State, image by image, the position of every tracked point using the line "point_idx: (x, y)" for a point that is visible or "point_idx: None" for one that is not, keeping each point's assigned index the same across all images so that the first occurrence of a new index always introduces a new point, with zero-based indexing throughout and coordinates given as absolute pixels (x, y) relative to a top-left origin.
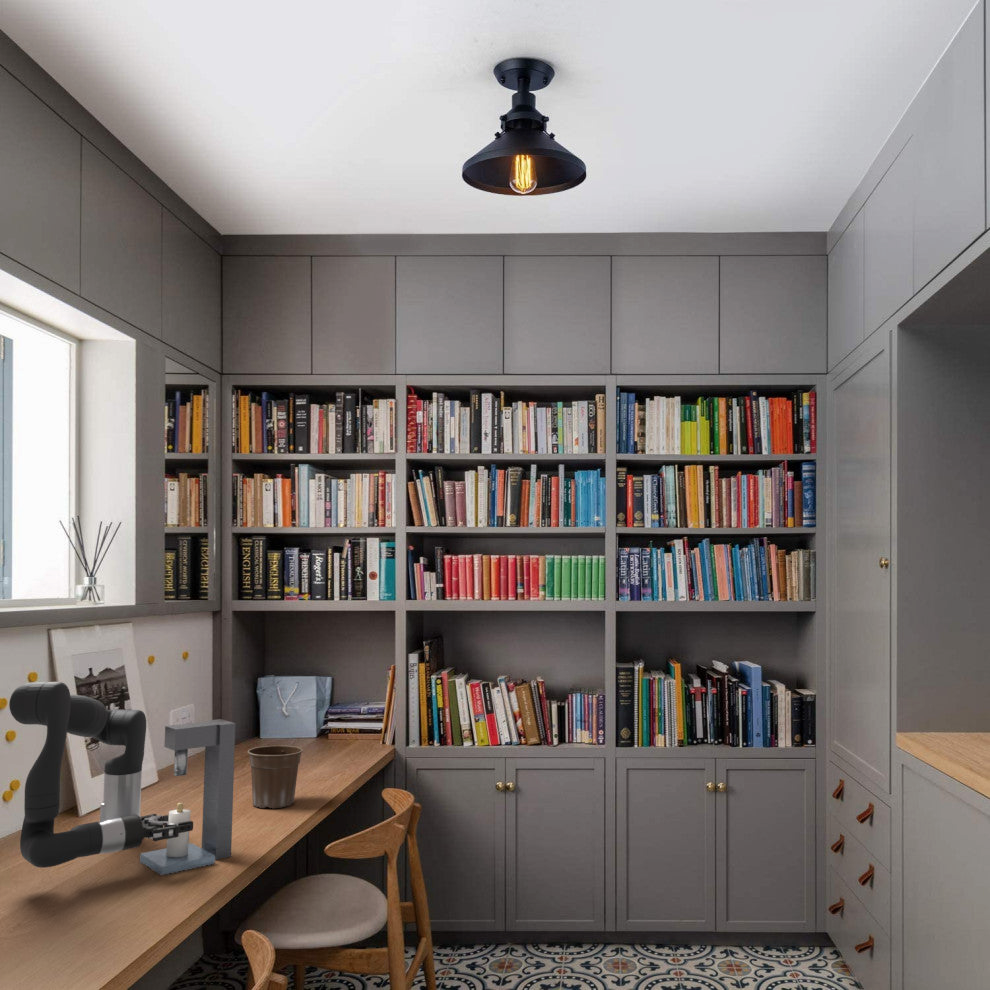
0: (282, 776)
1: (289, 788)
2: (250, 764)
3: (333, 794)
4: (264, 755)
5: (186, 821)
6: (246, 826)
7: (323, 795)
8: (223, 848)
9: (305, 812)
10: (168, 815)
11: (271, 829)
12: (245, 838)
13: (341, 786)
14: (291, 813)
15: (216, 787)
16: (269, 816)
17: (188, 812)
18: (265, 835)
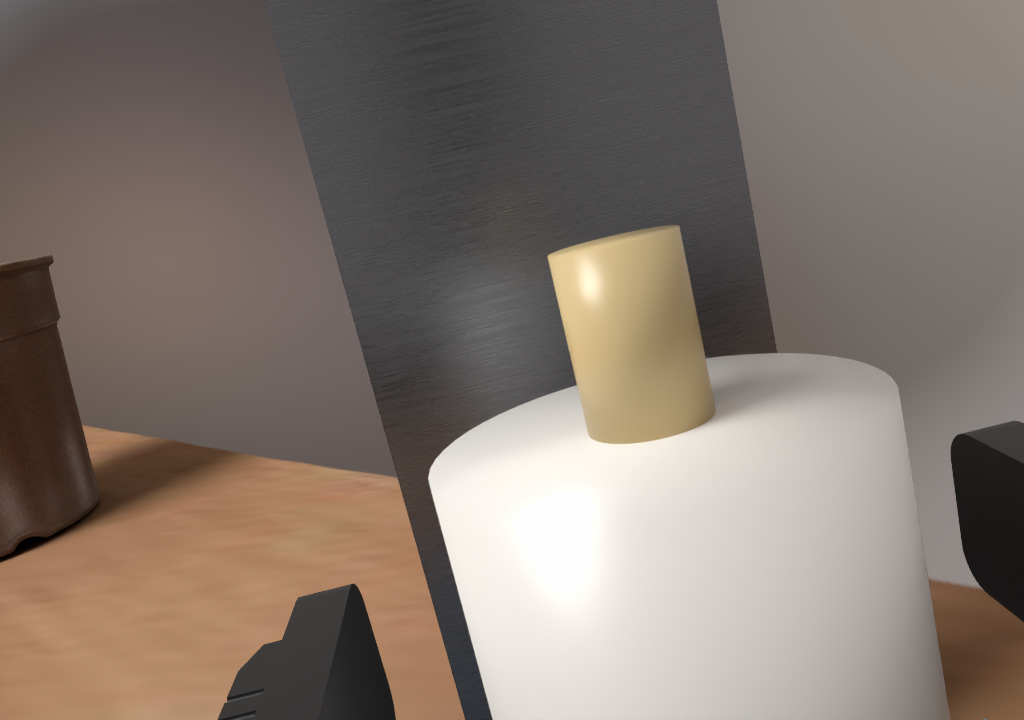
0: (45, 370)
1: (78, 422)
2: None
3: (135, 436)
4: None
5: (1019, 458)
6: (170, 605)
7: (111, 449)
8: None
9: (232, 468)
10: (324, 684)
11: (337, 531)
12: (384, 610)
13: (87, 430)
14: (191, 494)
15: (662, 1)
16: (135, 541)
17: (765, 359)
18: (414, 546)
